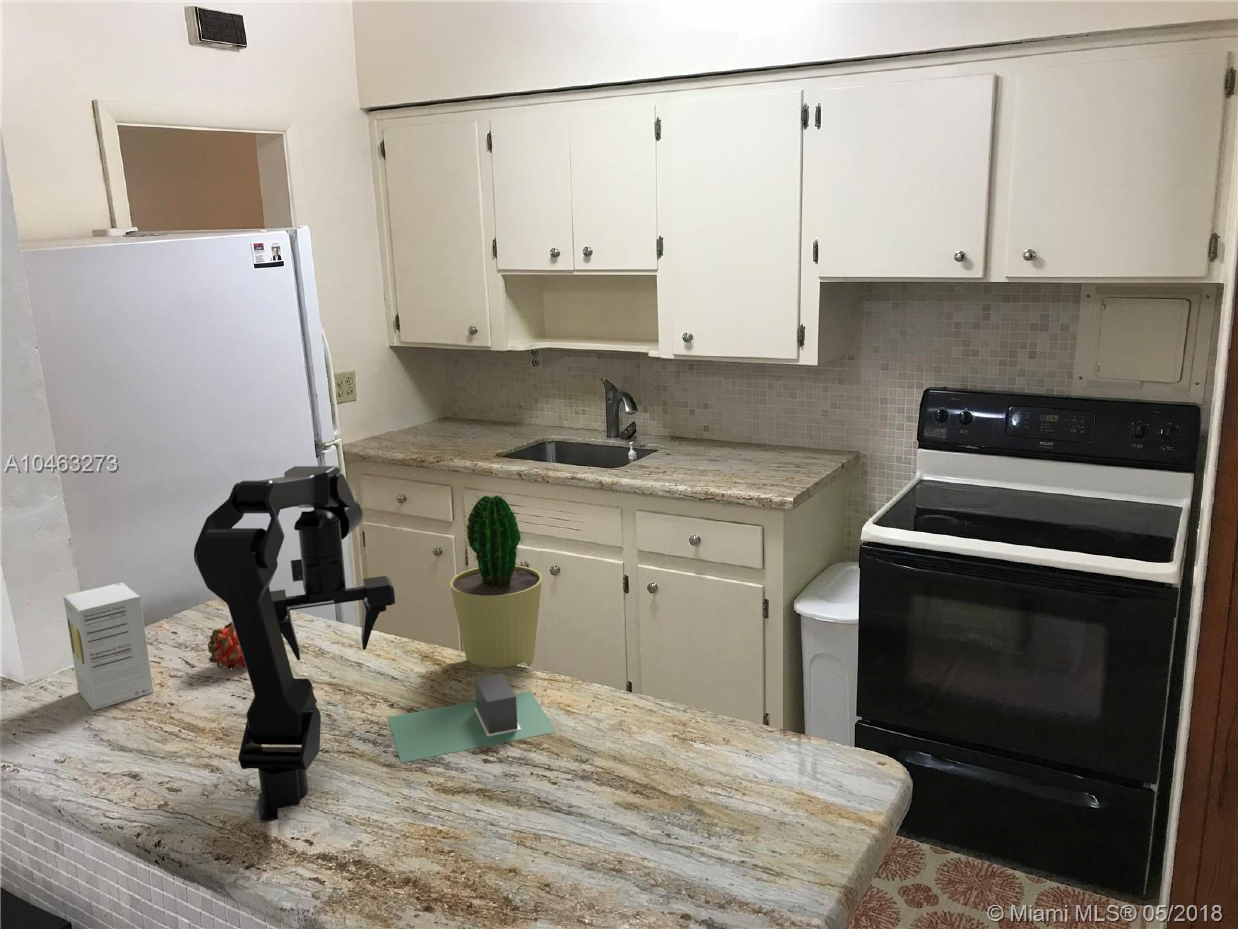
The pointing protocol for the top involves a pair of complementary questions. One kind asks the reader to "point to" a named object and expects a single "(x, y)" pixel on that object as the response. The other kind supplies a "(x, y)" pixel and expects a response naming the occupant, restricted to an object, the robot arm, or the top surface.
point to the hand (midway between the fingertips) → (331, 654)
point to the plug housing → (496, 703)
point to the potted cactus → (496, 591)
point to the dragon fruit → (225, 647)
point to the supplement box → (108, 645)
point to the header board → (462, 729)
